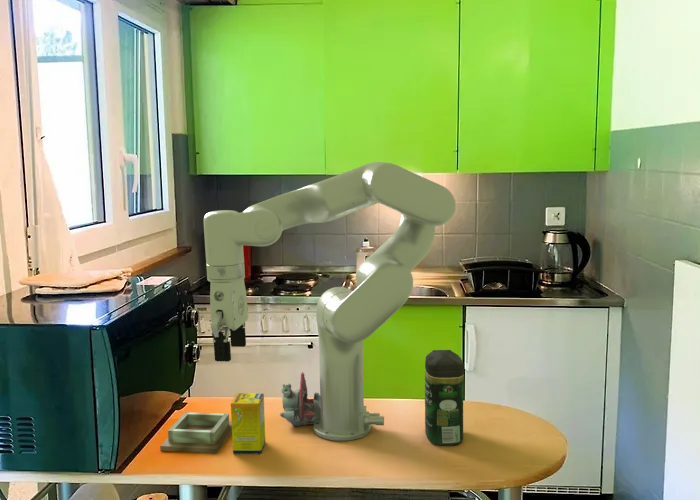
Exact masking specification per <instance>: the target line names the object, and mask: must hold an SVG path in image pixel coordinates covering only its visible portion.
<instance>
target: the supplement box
mask: <svg viewBox="0 0 700 500" xmlns="http://www.w3.org/2000/svg"><path fill="white" fill-rule="evenodd" d="M230 412H231V413H230V414H231V415H230V416H231V421H232V432H231V437H232V438H231V439H232V454H233V455H261V454H262V453H263V450H264V447H265V444H266V424H265V423H266V421H265V393H264V392H236V393H235V395H234V397H233V399H232V401H231V402H230Z"/></svg>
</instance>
